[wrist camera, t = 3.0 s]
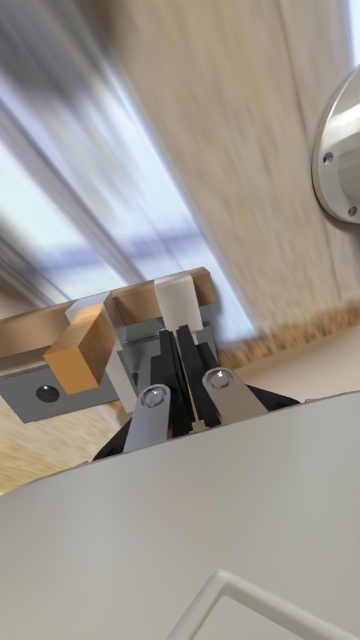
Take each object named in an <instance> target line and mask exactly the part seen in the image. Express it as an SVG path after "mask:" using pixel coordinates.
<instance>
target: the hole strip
mask: <svg viewBox="0 0 360 640" xmlns="http://www.w3.org/2000/svg"><path fill="white" fill-rule="evenodd" d="M202 325H203V329H201V330H198V331H195V333H196V337H197V342H198V344H201V343H204V342H207V343H208V345H209V347H210V349H211V351H212V353H213V355H214V357H215V359H216V361H217V363H218V359H217V354H216V348H215V343H214V338H213V333H212V328H211V325H210V323H209V322H207V323H204V324H202ZM174 337H175V340H176V344H177V347H178V351H179V354H180V358H181V361H182V365H183V368H184V364H183V360H182V356H181V351H180V347H179V343H178V338H177V336H174ZM121 353H122V355H123V357H124V359H125V362H126V364H127V366H128V369H129V371H130V373H131V376H132V373H133V372H137V373H138V374H139V377H138V385H137V389H138V392H139V394H140V393H141V392H142V391H143V390H145V389H146V388H147V387H149V386H150V368H151V357H153V356H157V355H160V354H161V352H160V337H159V335H157V336H153V337H150V338H146V339H142V340H138V341H134V342H130V343H126V344H125V345H124V348H123V350H121ZM218 365H219V364H218ZM184 372H185V369H184ZM185 377H186V381H187V382H188V380H187V376H186V372H185ZM0 395H1V396H2V398H3V399H4V400H5V401H6V402H7V404H8V405H9V406H10V407H11V408H12V410H13V411H14V412H15V413H16V414H17V416H18V417H19V418H20V419H21V420H22V422H23V423H24V424H25V423H29V422H32V421H36V420H40V419H44V418H48V417H52V416H56V415H60V414H64V413H67V412H71V411H75V410H79V409H83V408H87V407H91V406H95V405H99V404H102V403H106V402H110V401H114V400H118V399H120V398H119V396H118V394H117V392H116V390H115V388H114V386H113V384H112V382H111V380H110V378H109V376H108V374H107V372H106V370H105V372H104V375H103V377H102V380H101V383H100V386H99V387H96V388H93V389H89V390H85V391H81V392H77V393H73V394H69V395H67V393H66V392H65V390H64V388H63V387H62V385H61V384H60V382H59V381H58V379H57V377H56V376H55V374H54V373H53V371H52V370H51V368H50V366H49V365H48V364H45V365H42V366H38V367H34V368H30V369H26V370H22V371H18V372H15V373H11V374H7V375H3V376H0Z"/></svg>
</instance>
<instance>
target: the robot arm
mask: <svg viewBox="0 0 360 640" xmlns="http://www.w3.org/2000/svg"><path fill="white" fill-rule="evenodd" d="M312 174H313V184H314V187H315V191H316V194H317V197H318V199H319V201H320V203H321V204H322V206H323V207H324V208H325V210H326V211H327V212H328V213H329V214H330V215H332V216H333V217H335V218H336V219H338V220H341V221H344V222H347V223H358V224H359V223H360V65H358V66H357V67H356V69H355V70H354V71H353V72H352V73H351V74H350V75H349V76H348V77H347V78H346V79H345V81H344V82H343V83H342V85H341V86H340V88H339V89H338V91H337V92H336V93H335V95H334V96H333V98H332V100H331V102H330V104H329V106H328V108H327V110H326V112H325V113H324V115H323V118H322V121H321V124H320V127H319V129H318V132H317V136H316V140H315V145H314V149H313V160H312ZM176 334H177V338H178V343H179V347H180V351H181V356H182V360H183V364H184V368H183V365H182V361H181V358H180V354H179V351H178V347H177V344H176V340H175V337H174V334H173V331H170V332H169V330H164V331H160V332H159V337H160V352H161V354H160V355H157V356H153V357H151V368H150V386H149V387H147V388H146V389H145V390H143V391H142V392H141V393H140V395H139V397H138V399H137V402H136V406H135V410H134V414H133V417H132V418H131V419H130V420H129V421H128V422H127V423H126V424H125V425H124V426H123V427H122V428H121V429H120V430H119V431H118V432H117V433H116V434H115V435H114V436H113V437H112V439H111V440H110V441H109V442H108V443H107V444H106V445H105V446H104V447H103V448H102V449H101V450H100V451H99V452H98V453H97V455H96V456H95V457H94V459H93V460H92V462H88V461H85V462H83V463H81V464H79V465H77V466H75V467H72V468H69V469H66V470H62V471H59V472H56V473H53V474H50V475H47V476H44V477H41V478H38V479H36V480H33V481H31V482H28V483H26V484H23V485H21V486H19V487H17V488H15V489H13V490H11V491H9V492H7V493H5V494H3V495H1V496H0V640H360V390H359V391H353V392H346V393H341V394H337V395H333V396H329V397H324V398H320V399H306V400H305V402H304V403H300V402H299V401H297V400H295V399H292V398H289V397H286V396H283V395H279V394H276V393H273V392H269V391H266V390H263V389H259V388H256V387H253V386H250V385H246V384H244V383H243V381H242V380H241V379H240V378H239V377H238V376H237V374H236V373H235V372H234V371H232V370H231V369H229V368H225V367H219V365H218V363H217V361H216V359H215V357H214V355H213V353H212V351H211V349H210V347H209V345H208V343H207V342H204V343H201V344H197V345H195V343H194V340H193V337H192V335H191V332H190V329H189V327H188V324H186V325H183V326H179V329H177V330H176ZM184 369H185V372H186V376H187V380H188V383H189V387H190V390H191V393H192V397H193V401H194V404H195V408H196V411H197V415H198V418H199V420H203V419H204V423H205V426H206V427H207V426H208V427H210V428H209V429H205V430H201V431H198V432H194V433H190V434H188V433H189V432H190V431H192V430H193V428H192V422H195V417H194V412H193V408H192V403H191V399H190V395H189V390H188V385H187V381H186V377H185V372H184Z"/></svg>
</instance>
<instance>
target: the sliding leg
mask: <svg viewBox="0 0 360 640" xmlns="http://www.w3.org/2000/svg"><path fill="white" fill-rule="evenodd" d="M65 314H66V316H67V318H68V320H69V322H70V325H69V326H68V327H67V329H66V330H65V331H64V332H63V333H62V334H61V335H60V336H59V338H58V339H57V340H56V341H55V342H54V343H53V344H52V346H51V347H50V348H49V349H48V350H47V351H46V352H45V353H44V355H43V357H44V359H45V360H46V362H47V363H48V365H49V366H50V368H51V370H52V371H53V373H54V374H55V376H56V377H57V379H58V381H59V382H60V384H61V385H62V387H63V388H64V390H65V392H66V393H67V395H69V394H73V393H77V392H81V391H85V390H89V389H93V388H96V387H99V386H100V383H101V380H102V377H103V375H104V372H105V370H106V372H107V374H108V376H109V378H110V380H111V382H112V384H113V386H114V388H115V390H116V392H117V394H118V396H119V398H120V400H121V402H122V404H123V406H124V408H125V410H126V413H128V412H132V411H134V410H135V406H136V402H137V399H138V397H139V395H140V394H139V392H138V389H137V385H138V377H139V374H138V373H137V372H133V373H132V376H131V373H130V371H129V369H128V366H127V364H126V362H125V359H124V357H123V355H122V353H121V350H123V348H124V345H125V341H126V337H127V334H128V333H127V330H126V328H125V325H124V323H123V320H122V318H121V315H120V313H119V310H118V308H117V305H116V302H115V300H114V297H113V295H112V292H111V291H109V292H105V293H102V294H98V295H94V296H90V297H86V298H82V299H79V300H77V301H76V302H75V303H74V304H73V305H72V306H71V307H70V308H69V309H68V310H67V311H66V312H65Z"/></svg>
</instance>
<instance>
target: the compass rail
mask: <svg viewBox="0 0 360 640" xmlns="http://www.w3.org/2000/svg"><path fill="white" fill-rule="evenodd" d="M108 292H109V291H108ZM111 292H112V295H113V297H114V300H115V302H116V305H117V308H118V310H119V313H120V315H121V318H122V320H123V323H124V325H125V326H126V325H130V324H134V323H138V322H141V321H145V320H149V319H153V318H157V317H161V316H162V317H163V320H164V323H165V327H166V330H169V332H170V331H173V334H174V336H177V334H176V330H177V329H179V326H183V325H186V324H188V327H189V329H190V332H191V335H192V337H193V340H194V343H195V345H197V344H198V342H197V337H196V333H195V331H198V330H201V329H203V325H202V321H201V316H200V311H199V306H203V305H207V304H211V303H215V300H214V294H213V288H212V282H211V277H210V272H209V271H208V270H206V269H205V268H204V267H200V268H196V269H192V270H188V271H183V272H179V273H175V274H171V275H167V276H164V277H160V278H156V279H154V280H150V281H146V282H142V283H138V284H134V285H131V286H127V287H123V288H119V289H115V290H111ZM104 293H105V292H104ZM100 294H102V293H100ZM96 295H98V294H96ZM92 296H94V295H92ZM88 297H90V296H88ZM85 298H86V297H85ZM81 299H82V298H81ZM77 300H79V299H77ZM77 300H73V301H69V302H65V303H62V304H58V305H54V306H50V307H46V308H42V309H39V310H35V311H31V312H27V313H23V314H20V315H16V316H12V317H8V318H4V319H0V358H3V357H7V356H11V355H14V354H18V353H22V352H26V351H30V350H34V349H38V348H41V347H45V346H49V345H52V344H53V343H54V342H55V341H56V340H57V339H58V338H59V336H60V335H61V334H62V333H63V332H64V331H65V330H66V329H67V327H68V326H69V325H70V322H69V320H68V318H67V316H66V314H65V312H66V311H67V310H68V309H69V308H70V307H71V306H72V305H73V304H74V303H75V302H76V301H77Z"/></svg>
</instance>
